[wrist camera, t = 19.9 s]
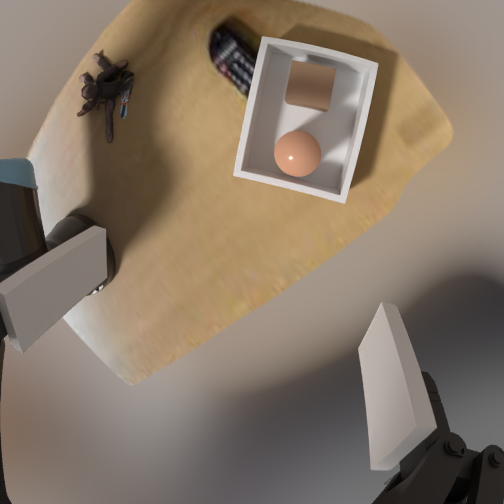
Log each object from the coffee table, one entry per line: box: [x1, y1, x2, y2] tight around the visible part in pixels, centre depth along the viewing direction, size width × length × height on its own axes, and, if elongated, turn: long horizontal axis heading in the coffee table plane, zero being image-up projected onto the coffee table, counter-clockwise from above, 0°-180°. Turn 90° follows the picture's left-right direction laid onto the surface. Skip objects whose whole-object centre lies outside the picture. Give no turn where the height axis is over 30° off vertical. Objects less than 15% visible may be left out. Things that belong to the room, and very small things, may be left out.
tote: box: [233, 36, 378, 204], centre depth 33 cm, size 14×18×5 cm
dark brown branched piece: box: [77, 53, 134, 143], centre depth 38 cm, size 12×10×12 cm
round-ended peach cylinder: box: [274, 131, 321, 177], centre depth 33 cm, size 5×5×7 cm
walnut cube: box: [285, 60, 336, 112], centre depth 31 cm, size 5×5×5 cm
